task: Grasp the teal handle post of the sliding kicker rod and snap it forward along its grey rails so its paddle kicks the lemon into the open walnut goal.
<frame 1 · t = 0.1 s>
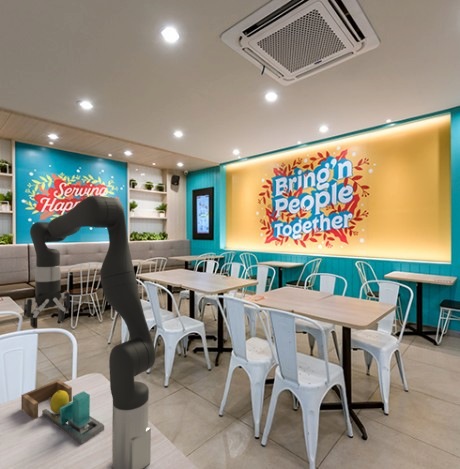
hand: (48, 324, 102), 29 cm above the table, fingers open, 8 cm apart
lemon: (59, 414, 99), on the table
rails: (70, 421, 95), on the table
kicker: (79, 410, 92), point 5 cm above the table, slide at 0.0 cm
goal: (48, 405, 103), on the table
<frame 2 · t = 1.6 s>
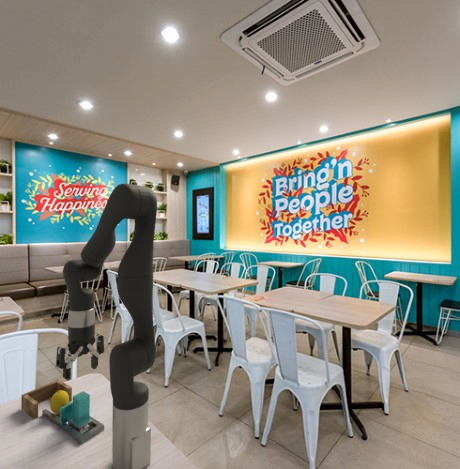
hand: (81, 373, 91), 18 cm above the table, fingers open, 8 cm apart
nothing on the table moved.
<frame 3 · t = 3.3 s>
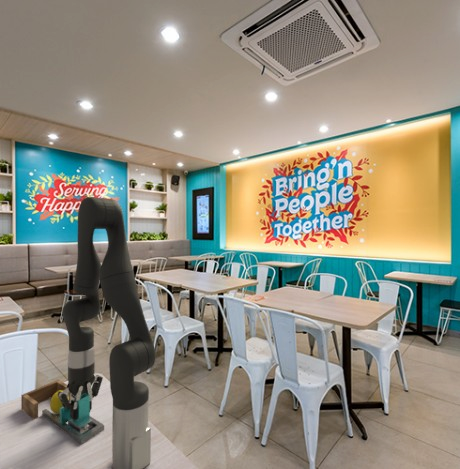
hand: (81, 415, 92), 4 cm above the table, fingers closed on kicker, 3 cm apart
kicker: (79, 410, 92), point 5 cm above the table, slide at 0.0 cm, touching gripper
everything else where it was.
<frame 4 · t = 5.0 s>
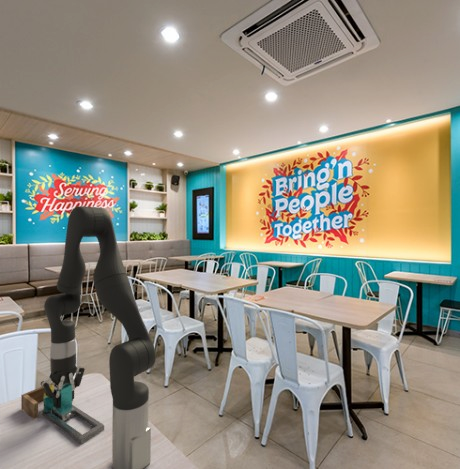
hand: (64, 404, 97), 4 cm above the table, fingers closed on kicker, 3 cm apart
lemon: (53, 408, 102), on the table, touching kicker
kicker: (62, 399, 98), point 5 cm above the table, slide at 10.3 cm, touching gripper, lemon
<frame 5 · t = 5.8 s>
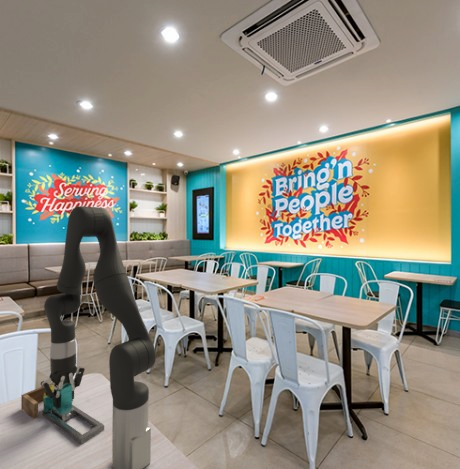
hand: (64, 404, 97), 4 cm above the table, fingers closed on kicker, 3 cm apart
kicker: (62, 399, 98), point 5 cm above the table, slide at 10.4 cm, touching gripper, lemon
everything else where it was.
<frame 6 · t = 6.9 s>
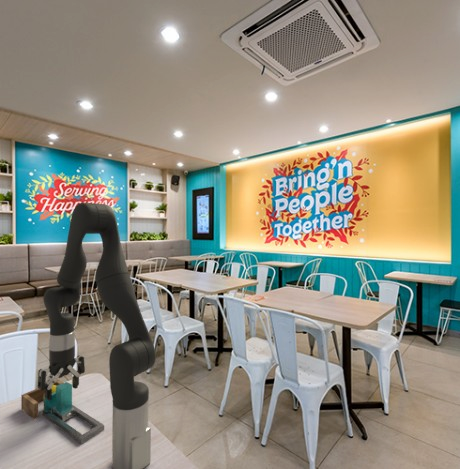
hand: (62, 393, 98), 8 cm above the table, fingers open, 8 cm apart
kicker: (62, 399, 98), point 5 cm above the table, slide at 10.3 cm, touching lemon
everything else where it was.
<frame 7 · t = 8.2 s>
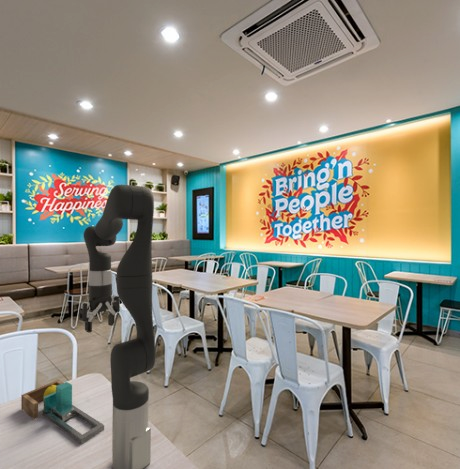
hand: (100, 328, 102), 28 cm above the table, fingers open, 8 cm apart
nothing on the table moved.
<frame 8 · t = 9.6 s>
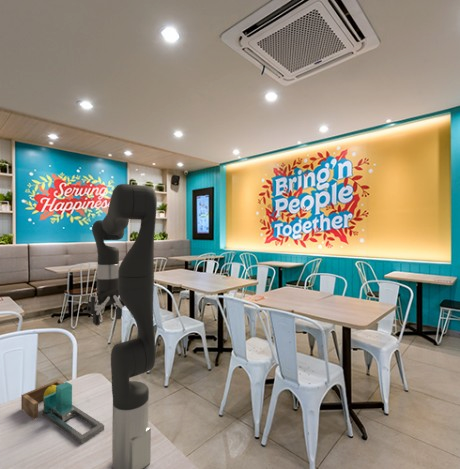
hand: (108, 321, 103), 30 cm above the table, fingers open, 8 cm apart
nothing on the table moved.
at the end: lemon inside the target area (3.5 cm from its centre), on the table; kicker slide at 10.3 cm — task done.
